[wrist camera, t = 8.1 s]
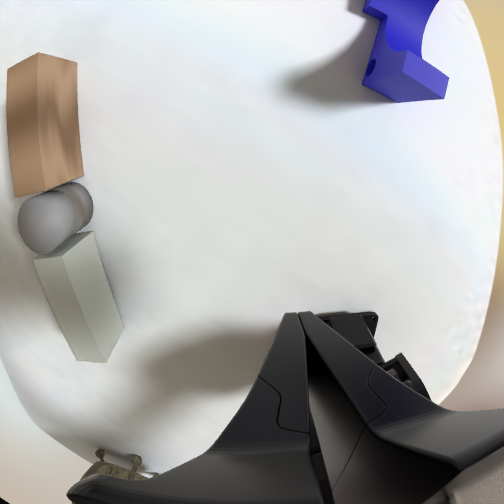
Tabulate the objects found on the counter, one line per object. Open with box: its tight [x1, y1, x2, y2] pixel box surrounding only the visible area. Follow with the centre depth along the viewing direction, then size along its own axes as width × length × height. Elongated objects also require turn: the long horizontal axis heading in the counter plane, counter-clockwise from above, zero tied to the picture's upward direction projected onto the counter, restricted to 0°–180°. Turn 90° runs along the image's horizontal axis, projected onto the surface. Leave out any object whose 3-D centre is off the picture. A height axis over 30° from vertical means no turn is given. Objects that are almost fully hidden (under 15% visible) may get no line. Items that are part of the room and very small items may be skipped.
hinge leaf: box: [18, 190, 124, 363], centre depth 19 cm, size 13×4×5 cm, turn 6°
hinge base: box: [7, 52, 93, 236], centre depth 15 cm, size 13×4×5 cm, turn 3°
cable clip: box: [362, 0, 449, 103], centre depth 12 cm, size 12×4×6 cm, turn 163°
